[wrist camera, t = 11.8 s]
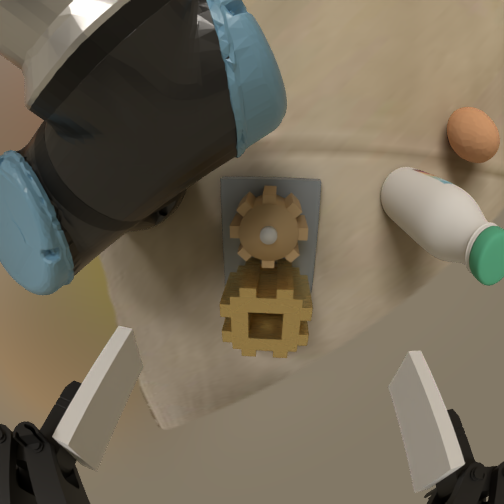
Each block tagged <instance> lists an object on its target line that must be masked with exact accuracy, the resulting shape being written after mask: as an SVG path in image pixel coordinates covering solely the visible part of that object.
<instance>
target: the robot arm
mask: <svg viewBox="0 0 504 504" xmlns="http://www.w3.org/2000/svg"><path fill="white" fill-rule="evenodd" d="M0 55H1V56H3V57H4V58H6V59H7V60H8V61H10V62H11V63H12V64H14V65H15V66H17V67H18V68H19V69H21V70H22V72H23V75H24V78H25V79H24V82H25V83H24V84H25V85H24V87H25V106H26V107H27V109H28V110H30V111H31V112H33V113H34V114H36V115H37V116H39V117H40V118H42V119H43V120H44V122H43V123H42V124H41V126H40V127H39V129H38V130H37V131H36V133H35V134H34V136H33V137H32V139H31V140H30V142H29V143H28V144H27V145H26V146H25V147H24V148H22V149H21V150H19V151H12V150H10V151H6V152H4V154H3V155H2V156H0V262H1V263H2V265H3V267H4V268H5V269H6V271H7V272H8V273H9V274H10V276H11V277H12V278H13V279H14V280H15V281H16V282H17V283H18V284H20V285H21V286H23V287H24V288H25V289H26V290H28V291H30V292H32V293H34V294H37V295H49V294H52V293H54V292H55V291H57V290H58V289H59V288H61V287H62V286H63V285H67V284H69V283H70V282H71V281H72V280H73V278H74V275H76V274H77V273H78V272H79V271H80V270H81V269H82V268H84V267H85V266H86V265H87V264H88V263H89V262H91V261H92V260H93V259H94V258H95V257H97V256H98V255H99V254H100V253H101V252H103V251H104V250H105V249H106V248H107V247H109V246H110V245H111V244H112V243H114V242H115V241H116V240H117V239H119V238H120V237H121V236H122V235H124V234H125V233H126V232H130V231H138V230H145V229H148V228H151V227H154V226H156V225H158V224H159V223H161V222H162V221H164V220H165V219H166V218H167V217H168V216H170V215H171V214H172V213H173V212H174V211H175V210H176V208H177V207H178V206H179V204H180V203H181V201H182V199H183V197H184V194H185V191H186V188H188V187H189V186H191V185H192V184H194V183H195V182H196V181H198V180H199V179H201V178H202V177H204V176H206V175H207V174H209V173H210V172H212V171H213V170H215V169H216V168H218V167H219V166H221V165H223V164H224V163H226V162H227V161H229V160H231V159H232V158H234V157H237V158H238V157H240V156H241V154H243V153H244V152H245V149H246V148H248V147H249V146H251V145H252V144H254V143H255V142H257V141H258V140H260V139H261V138H263V137H264V136H266V135H268V134H269V133H271V132H272V131H274V130H275V129H276V128H277V127H278V126H279V125H280V123H281V121H282V119H283V117H284V116H285V113H286V108H287V98H286V91H285V87H284V83H283V79H282V76H281V73H280V70H279V67H278V65H277V62H276V60H275V57H274V55H273V52H272V50H271V48H270V46H269V44H268V42H267V40H266V37H265V35H264V34H263V32H262V30H261V28H260V26H259V25H258V23H257V21H256V20H255V18H254V17H253V15H252V14H249V13H248V12H247V11H246V7H245V5H244V4H243V2H242V0H0ZM142 368H143V364H142V361H141V358H140V354H139V351H138V347H137V343H136V340H135V336H134V332H133V329H132V328H127V327H123V326H118V328H117V329H116V331H115V332H114V334H113V335H112V337H111V338H110V340H109V341H108V343H107V345H106V346H105V347H104V349H103V350H102V352H101V354H100V355H99V357H98V358H97V360H96V361H95V363H94V365H93V366H92V368H91V370H90V371H89V373H88V375H87V376H86V378H85V379H84V381H83V383H82V384H81V383H79V382H76V381H73V382H71V383H70V384H69V385H68V386H66V387H65V389H64V390H63V392H62V394H61V395H60V398H59V399H58V400H57V402H56V405H54V407H53V408H52V410H51V412H50V414H49V415H48V417H47V419H46V421H45V422H44V424H43V426H42V428H41V429H40V430H38V429H37V427H36V426H35V425H34V424H32V423H30V422H21V423H19V424H18V425H17V426H16V427H15V429H14V431H13V432H12V431H11V430H10V429H9V428H7V427H6V425H2V424H0V504H90V502H89V500H88V497H87V495H86V492H85V490H84V487H83V485H82V482H81V479H80V476H79V474H78V471H77V468H76V466H75V463H76V460H77V461H78V462H79V463H80V464H82V465H83V466H85V467H88V468H89V469H92V470H94V471H97V470H98V467H99V465H100V463H101V460H102V458H103V455H104V453H105V451H106V448H107V446H108V443H109V441H110V439H111V436H112V434H113V432H114V429H115V427H116V425H117V423H118V420H119V418H120V415H121V414H122V411H123V409H124V407H125V405H126V402H127V400H128V398H129V396H130V394H131V392H132V389H133V387H134V385H135V383H136V381H137V379H138V377H139V375H140V373H141V370H142ZM388 387H389V391H390V394H391V397H392V401H393V404H394V408H395V411H396V415H397V419H398V422H399V426H400V430H401V434H402V437H403V442H404V446H405V450H406V455H407V459H408V463H409V468H410V473H411V477H412V483H413V488H414V493H417V492H420V491H423V490H426V489H429V488H430V487H432V486H433V485H435V484H436V488H435V489H433V490H432V491H430V492H428V493H427V494H426V495H425V496H424V498H426V497H428V496H430V495H431V497H429V498H428V499H429V501H428V502H427V504H504V462H502V463H501V464H500V465H498V466H492V467H484V465H483V464H481V463H478V462H476V461H475V460H474V457H473V454H472V452H471V448H470V445H469V443H468V439H467V437H466V435H465V431H464V428H463V427H462V423H461V421H460V418H459V416H458V415H457V414H456V412H455V411H454V410H453V409H450V410H446V407H445V404H444V402H443V400H442V397H441V395H440V392H439V390H438V387H437V385H436V383H435V381H434V378H433V376H432V374H431V372H430V369H429V367H428V365H427V363H426V361H425V359H424V357H423V354H422V353H421V351H409V352H408V353H407V355H406V357H405V359H404V361H403V362H402V364H401V366H400V368H399V369H398V371H397V373H396V374H395V376H394V378H393V379H392V381H391V383H390V384H389V386H388ZM487 496H489V498H488V501H487V502H486V497H487Z"/></svg>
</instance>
